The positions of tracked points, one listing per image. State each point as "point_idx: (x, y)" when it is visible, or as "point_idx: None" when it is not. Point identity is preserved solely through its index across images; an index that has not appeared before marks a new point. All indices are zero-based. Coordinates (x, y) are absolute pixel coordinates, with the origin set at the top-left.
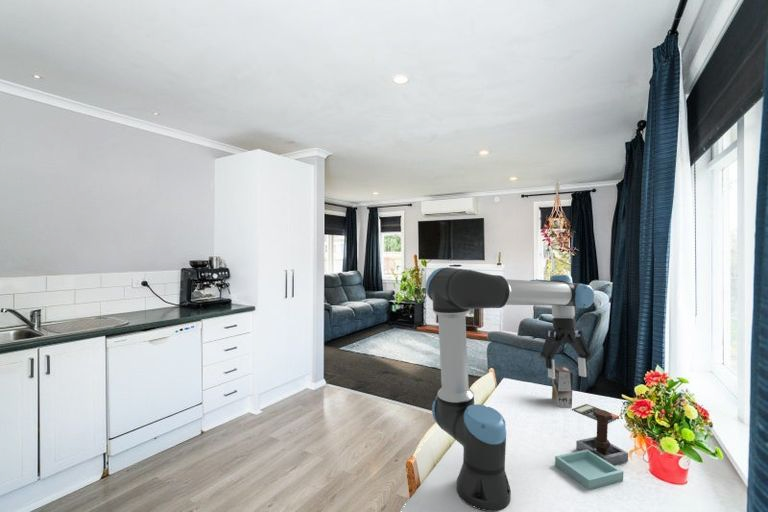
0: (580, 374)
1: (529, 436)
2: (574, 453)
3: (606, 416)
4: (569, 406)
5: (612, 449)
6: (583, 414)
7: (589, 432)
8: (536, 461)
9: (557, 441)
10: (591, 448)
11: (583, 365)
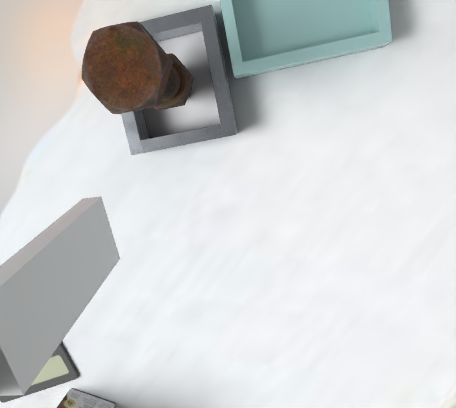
0: (109, 248)
1: (351, 231)
2: (303, 53)
3: (130, 24)
4: (76, 393)
5: None
6: None
7: (118, 228)
8: (435, 74)
9: (271, 187)
10: (215, 76)
11: (45, 256)
